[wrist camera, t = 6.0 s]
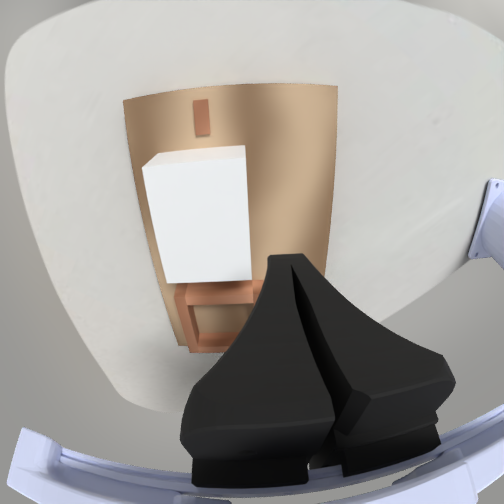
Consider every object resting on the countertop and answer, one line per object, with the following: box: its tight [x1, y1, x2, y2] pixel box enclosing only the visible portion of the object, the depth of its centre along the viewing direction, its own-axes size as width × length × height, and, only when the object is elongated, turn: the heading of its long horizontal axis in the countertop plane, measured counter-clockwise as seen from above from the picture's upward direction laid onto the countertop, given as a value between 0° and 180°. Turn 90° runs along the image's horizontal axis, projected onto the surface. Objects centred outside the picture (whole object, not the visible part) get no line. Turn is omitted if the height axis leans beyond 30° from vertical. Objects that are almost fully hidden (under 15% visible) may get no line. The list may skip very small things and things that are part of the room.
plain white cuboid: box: [142, 145, 252, 283], centre depth 16 cm, size 5×7×3 cm
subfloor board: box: [123, 83, 338, 353], centre depth 19 cm, size 12×20×2 cm, turn 2°
